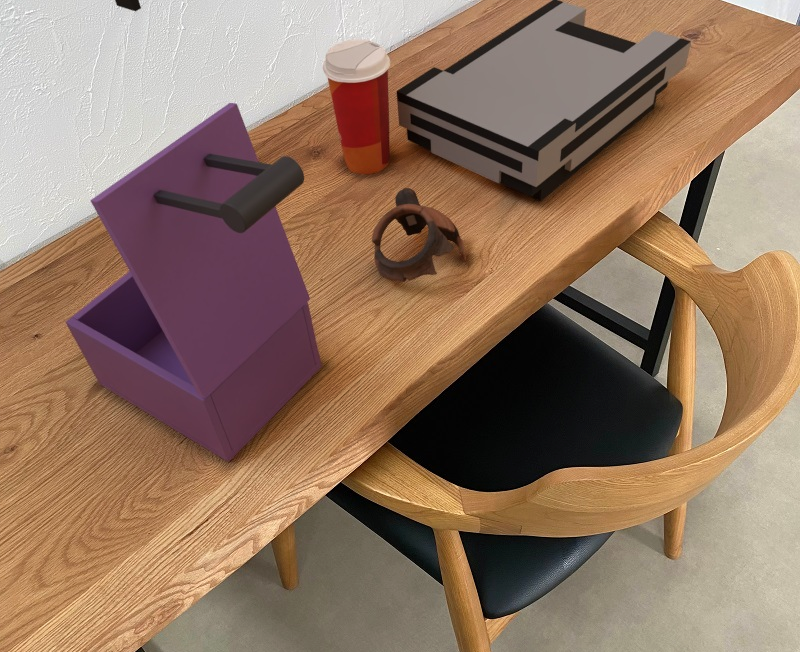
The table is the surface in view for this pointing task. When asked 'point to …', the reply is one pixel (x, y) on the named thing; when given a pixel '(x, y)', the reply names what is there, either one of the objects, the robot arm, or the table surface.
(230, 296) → the purple box lid
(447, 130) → the game console
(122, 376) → the file box
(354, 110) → the paper cup
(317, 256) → the table surface
